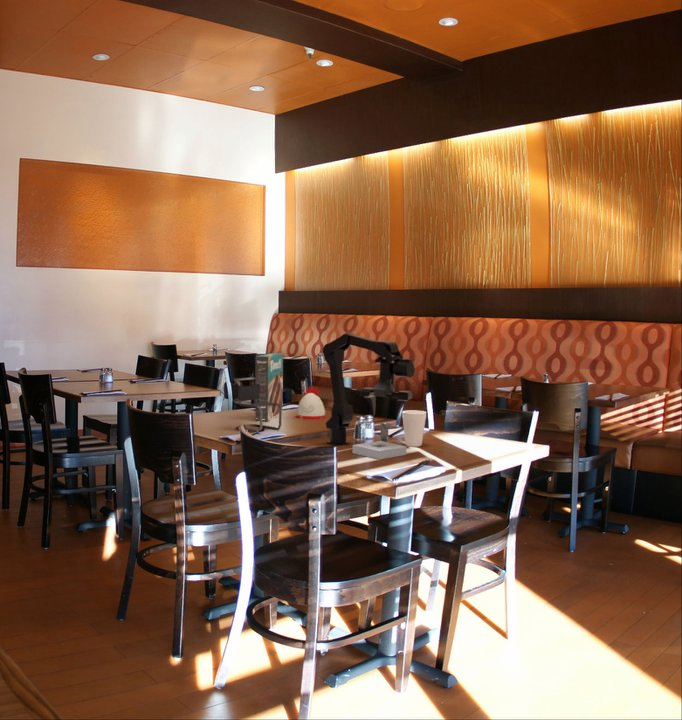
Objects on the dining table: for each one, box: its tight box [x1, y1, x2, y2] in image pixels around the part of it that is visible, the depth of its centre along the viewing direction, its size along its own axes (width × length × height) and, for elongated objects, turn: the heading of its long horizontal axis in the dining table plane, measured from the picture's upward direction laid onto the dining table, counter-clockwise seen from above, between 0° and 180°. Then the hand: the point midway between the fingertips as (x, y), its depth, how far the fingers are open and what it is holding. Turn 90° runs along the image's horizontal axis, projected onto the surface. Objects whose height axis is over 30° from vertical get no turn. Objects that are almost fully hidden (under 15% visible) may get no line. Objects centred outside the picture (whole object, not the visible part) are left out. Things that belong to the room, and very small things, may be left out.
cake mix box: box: [254, 352, 284, 423], centre depth 360 cm, size 22×6×30 cm, turn 167°
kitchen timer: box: [296, 385, 326, 420], centre depth 366 cm, size 14×14×15 cm
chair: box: [233, 376, 283, 433], centre depth 328 cm, size 13×17×22 cm
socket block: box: [352, 440, 408, 460], centre depth 281 cm, size 14×14×3 cm
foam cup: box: [401, 409, 427, 448], centre depth 299 cm, size 10×9×13 cm
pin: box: [379, 421, 390, 443], centre depth 293 cm, size 3×3×10 cm
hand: (385, 416), depth 287 cm, fingers open, 9 cm apart
